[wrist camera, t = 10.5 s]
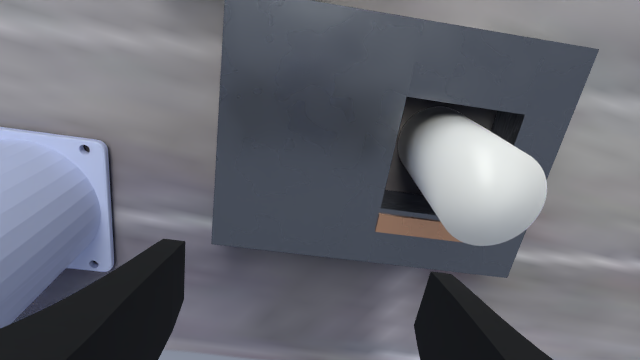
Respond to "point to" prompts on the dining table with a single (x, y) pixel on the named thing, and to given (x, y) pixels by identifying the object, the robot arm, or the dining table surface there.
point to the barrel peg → (471, 176)
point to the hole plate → (367, 126)
